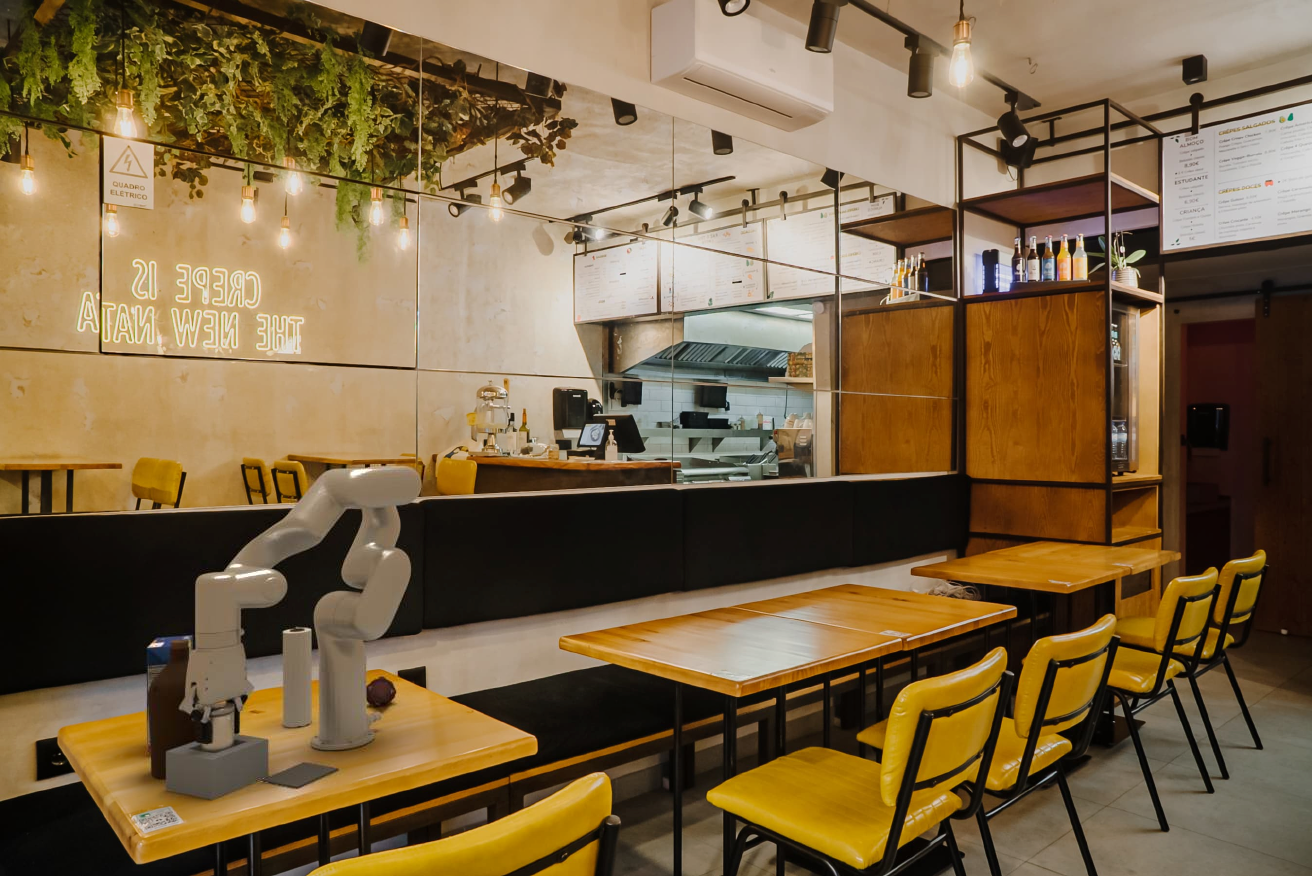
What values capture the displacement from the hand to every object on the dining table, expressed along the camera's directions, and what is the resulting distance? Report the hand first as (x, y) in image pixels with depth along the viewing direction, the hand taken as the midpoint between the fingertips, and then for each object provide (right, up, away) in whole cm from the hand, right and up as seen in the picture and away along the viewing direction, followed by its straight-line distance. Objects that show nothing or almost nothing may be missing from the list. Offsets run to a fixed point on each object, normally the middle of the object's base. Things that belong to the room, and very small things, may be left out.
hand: (218, 736), depth 157 cm
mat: (+14, -8, +3) cm, 17 cm away
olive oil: (-11, -9, +7) cm, 16 cm away
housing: (0, -8, 0) cm, 8 cm away
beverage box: (-21, -10, +21) cm, 31 cm away
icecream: (+14, -10, +50) cm, 52 cm away
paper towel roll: (0, -10, +36) cm, 37 cm away
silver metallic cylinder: (0, -8, 0) cm, 8 cm away
